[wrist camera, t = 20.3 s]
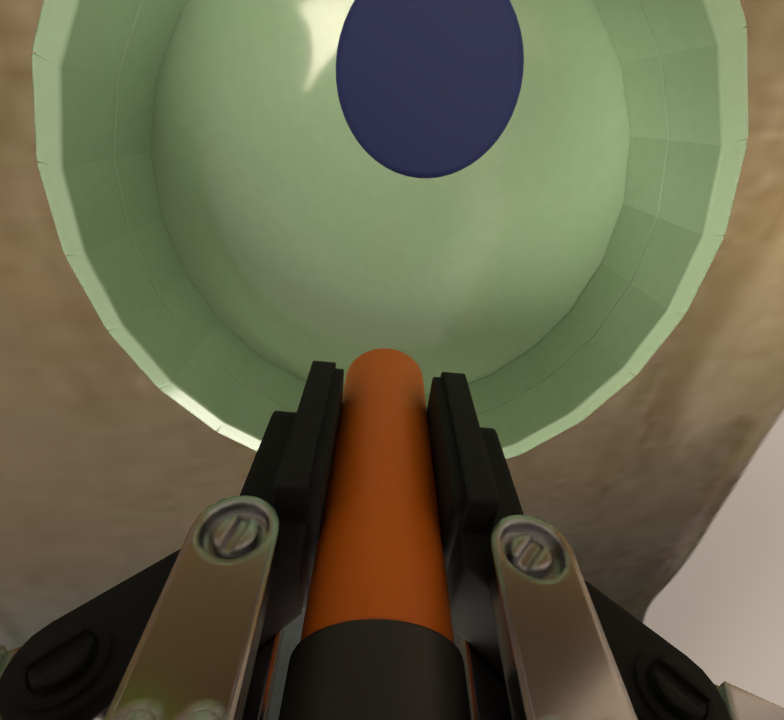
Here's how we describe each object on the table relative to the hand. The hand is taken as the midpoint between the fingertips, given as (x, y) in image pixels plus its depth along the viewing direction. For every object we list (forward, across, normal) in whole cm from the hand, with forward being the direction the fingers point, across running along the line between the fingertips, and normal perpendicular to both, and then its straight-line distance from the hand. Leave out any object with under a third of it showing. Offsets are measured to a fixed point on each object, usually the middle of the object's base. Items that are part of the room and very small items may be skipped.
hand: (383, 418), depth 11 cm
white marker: (+7, 0, -7) cm, 10 cm away
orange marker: (+2, 0, 0) cm, 2 cm away
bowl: (+8, 0, -4) cm, 8 cm away
